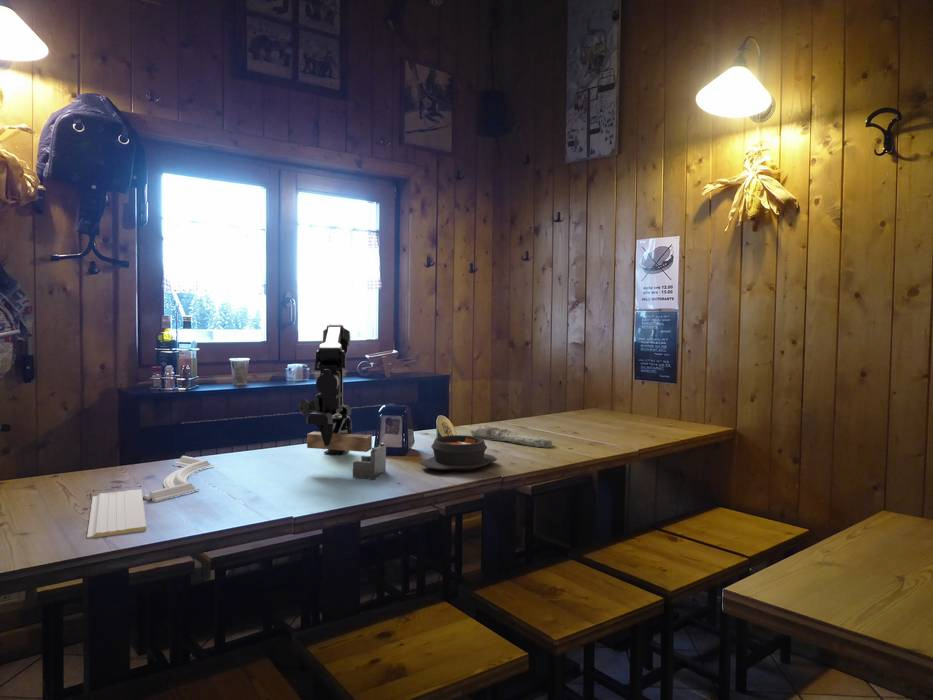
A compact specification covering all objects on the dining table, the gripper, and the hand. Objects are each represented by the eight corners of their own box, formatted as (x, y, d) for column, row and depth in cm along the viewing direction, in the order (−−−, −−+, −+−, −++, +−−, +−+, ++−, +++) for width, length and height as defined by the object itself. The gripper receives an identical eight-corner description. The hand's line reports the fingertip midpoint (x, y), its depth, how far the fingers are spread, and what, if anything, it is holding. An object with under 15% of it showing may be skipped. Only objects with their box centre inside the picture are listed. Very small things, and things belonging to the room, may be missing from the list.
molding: (175, 464, 189) (174, 455, 189) (217, 462, 192) (217, 453, 192) (138, 506, 148) (138, 494, 148) (193, 502, 151) (193, 490, 151)
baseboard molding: (78, 542, 124) (146, 533, 130) (78, 528, 124) (146, 519, 130) (85, 501, 151) (141, 495, 157) (85, 489, 151) (141, 483, 157)
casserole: (471, 456, 205) (472, 430, 204) (510, 467, 190) (510, 440, 190) (407, 466, 189) (407, 439, 189) (443, 479, 174) (444, 449, 174)
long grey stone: (542, 454, 216) (557, 451, 224) (544, 439, 216) (558, 436, 224) (463, 435, 238) (479, 433, 246) (464, 421, 238) (480, 420, 246)
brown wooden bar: (307, 447, 179) (307, 434, 179) (313, 445, 183) (313, 431, 183) (366, 451, 175) (366, 437, 175) (371, 449, 179) (371, 435, 179)
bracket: (363, 470, 183) (363, 440, 183) (386, 471, 182) (386, 442, 182) (351, 478, 174) (351, 447, 173) (374, 480, 172) (375, 449, 172)
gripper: (317, 385, 189) (316, 436, 190) (288, 392, 171) (288, 449, 172) (352, 386, 187) (351, 438, 188) (327, 394, 169) (326, 451, 170)
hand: (329, 444), depth 180 cm, fingers closed on brown wooden bar, 4 cm apart
